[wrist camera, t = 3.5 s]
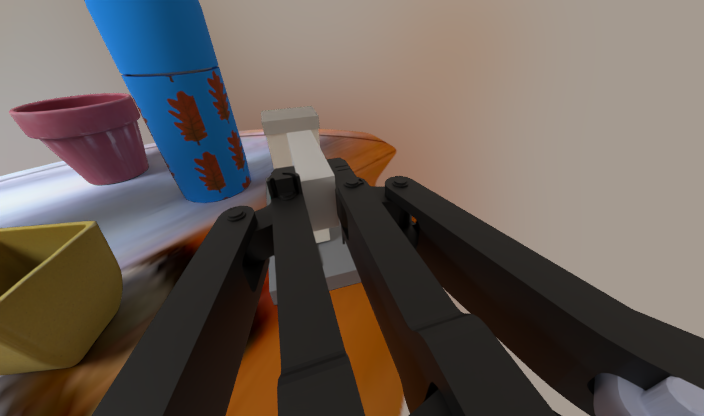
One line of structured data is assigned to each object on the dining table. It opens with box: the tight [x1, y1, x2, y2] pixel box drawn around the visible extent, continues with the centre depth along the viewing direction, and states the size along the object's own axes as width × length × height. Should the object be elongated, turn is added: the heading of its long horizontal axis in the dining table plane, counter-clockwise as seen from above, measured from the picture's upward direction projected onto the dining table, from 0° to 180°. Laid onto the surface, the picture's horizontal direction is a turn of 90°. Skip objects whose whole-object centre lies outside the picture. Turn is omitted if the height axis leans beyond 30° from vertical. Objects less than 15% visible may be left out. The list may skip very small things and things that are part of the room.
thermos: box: [84, 0, 251, 203], centre depth 35 cm, size 11×11×25 cm
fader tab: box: [261, 106, 330, 243], centre depth 24 cm, size 3×4×13 cm
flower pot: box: [0, 221, 123, 375], centre depth 19 cm, size 9×9×9 cm
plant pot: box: [9, 93, 149, 185], centre depth 43 cm, size 14×14×13 cm
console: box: [266, 178, 361, 305], centre depth 32 cm, size 22×9×2 cm, turn 17°
